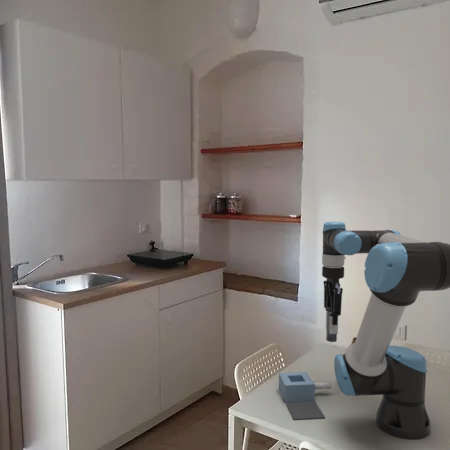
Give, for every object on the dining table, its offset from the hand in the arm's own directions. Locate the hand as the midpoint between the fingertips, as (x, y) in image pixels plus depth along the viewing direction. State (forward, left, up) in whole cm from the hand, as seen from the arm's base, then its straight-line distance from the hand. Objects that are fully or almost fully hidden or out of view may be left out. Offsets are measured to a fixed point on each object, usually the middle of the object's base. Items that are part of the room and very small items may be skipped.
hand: (331, 331), depth 159 cm
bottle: (0, 0, -3) cm, 3 cm away
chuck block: (-5, +10, -21) cm, 24 cm away
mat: (-16, +14, -21) cm, 29 cm away
